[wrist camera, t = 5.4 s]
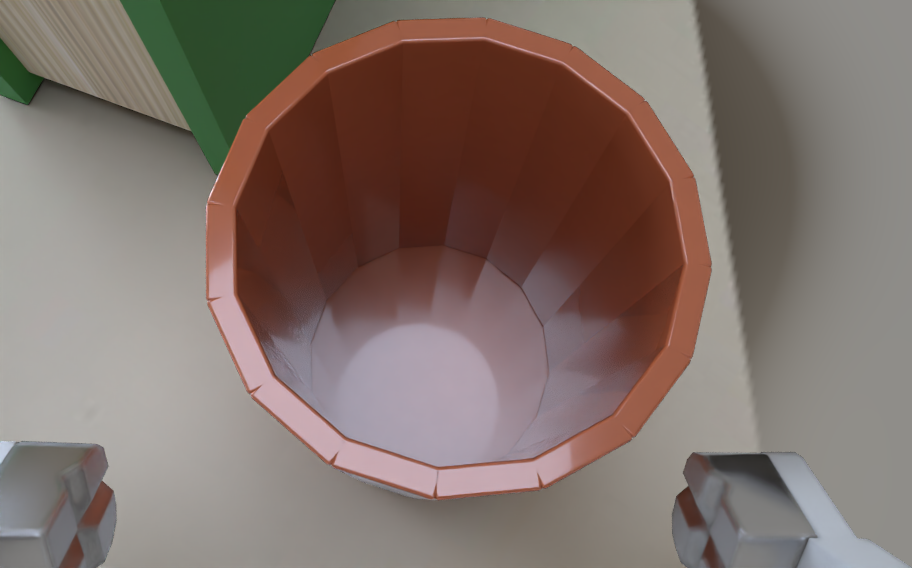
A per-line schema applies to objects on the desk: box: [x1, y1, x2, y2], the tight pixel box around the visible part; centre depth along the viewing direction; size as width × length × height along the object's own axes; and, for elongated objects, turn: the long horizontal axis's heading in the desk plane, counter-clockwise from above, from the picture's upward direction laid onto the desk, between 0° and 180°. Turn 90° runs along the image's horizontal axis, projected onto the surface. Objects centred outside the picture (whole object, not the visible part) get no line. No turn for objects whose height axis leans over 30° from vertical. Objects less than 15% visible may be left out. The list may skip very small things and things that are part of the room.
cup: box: [206, 17, 712, 500], centre depth 15 cm, size 7×7×10 cm
